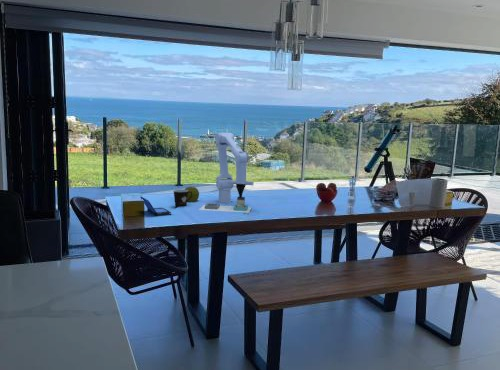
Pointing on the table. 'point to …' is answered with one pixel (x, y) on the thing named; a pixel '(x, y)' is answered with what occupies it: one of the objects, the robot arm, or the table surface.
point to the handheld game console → (155, 209)
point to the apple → (194, 194)
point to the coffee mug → (181, 197)
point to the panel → (226, 208)
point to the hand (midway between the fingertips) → (240, 196)
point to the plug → (241, 202)
